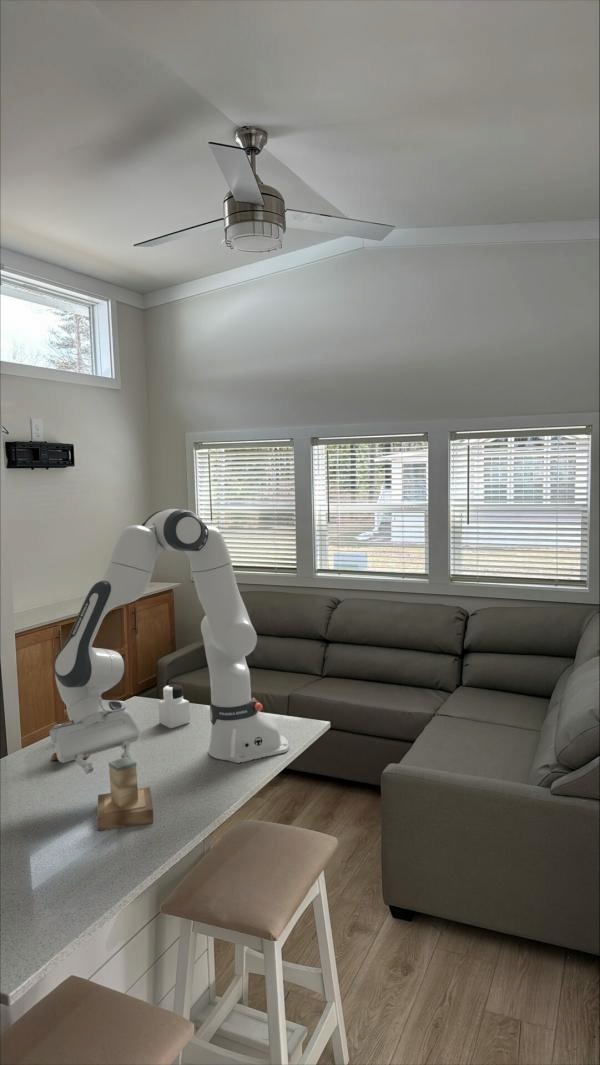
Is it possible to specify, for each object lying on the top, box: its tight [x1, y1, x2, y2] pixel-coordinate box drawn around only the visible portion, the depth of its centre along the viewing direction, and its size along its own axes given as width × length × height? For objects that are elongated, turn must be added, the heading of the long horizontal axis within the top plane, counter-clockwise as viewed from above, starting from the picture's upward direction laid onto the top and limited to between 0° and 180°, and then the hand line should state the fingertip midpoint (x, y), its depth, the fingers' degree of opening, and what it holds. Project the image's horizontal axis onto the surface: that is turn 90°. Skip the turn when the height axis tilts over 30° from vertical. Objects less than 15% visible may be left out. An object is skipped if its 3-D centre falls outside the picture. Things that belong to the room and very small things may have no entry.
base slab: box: [96, 786, 154, 832], centre depth 163 cm, size 12×12×3 cm
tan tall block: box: [108, 757, 139, 807], centre depth 162 cm, size 5×5×9 cm
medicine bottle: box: [158, 683, 191, 729], centre depth 222 cm, size 7×7×12 cm
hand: (108, 766), depth 168 cm, fingers open, 8 cm apart
